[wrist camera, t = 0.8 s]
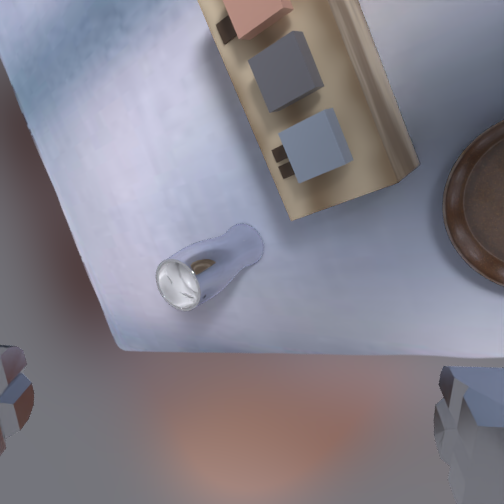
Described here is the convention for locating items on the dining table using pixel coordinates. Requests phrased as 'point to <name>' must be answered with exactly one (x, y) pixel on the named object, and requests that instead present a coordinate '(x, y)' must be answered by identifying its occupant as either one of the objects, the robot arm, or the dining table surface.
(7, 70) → the dining table surface
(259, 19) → the terracotta key
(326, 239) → the dining table surface
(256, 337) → the dining table surface
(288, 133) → the slate key
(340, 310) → the dining table surface
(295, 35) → the charcoal key
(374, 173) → the wooden key base
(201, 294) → the beer glass
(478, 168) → the plant saucer
